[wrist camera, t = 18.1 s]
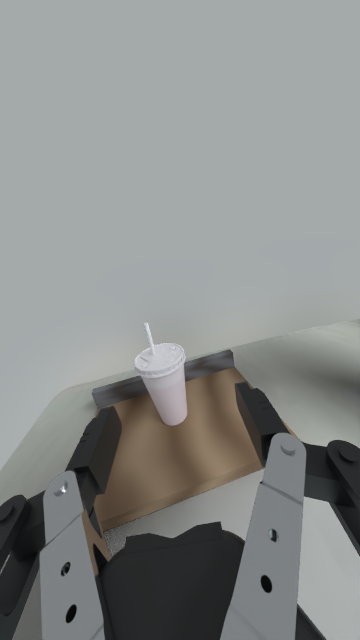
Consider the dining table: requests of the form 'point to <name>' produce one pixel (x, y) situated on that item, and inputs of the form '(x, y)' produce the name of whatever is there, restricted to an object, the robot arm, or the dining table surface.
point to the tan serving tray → (175, 442)
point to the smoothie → (164, 378)
